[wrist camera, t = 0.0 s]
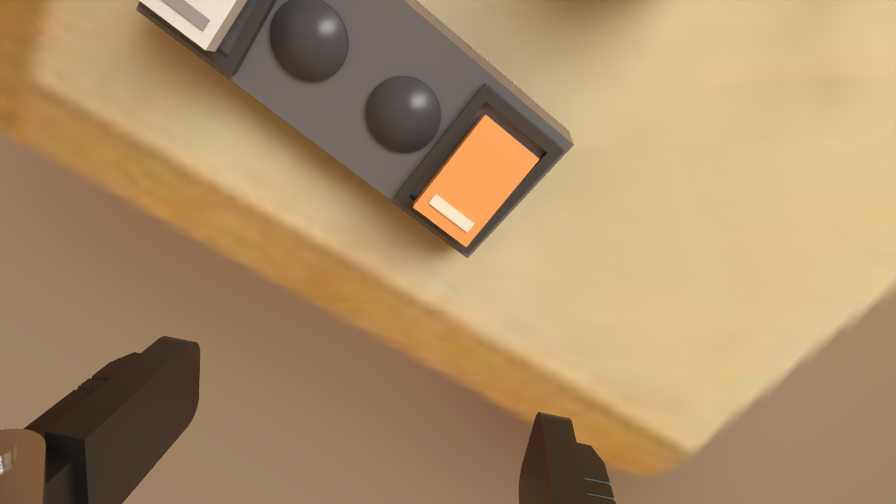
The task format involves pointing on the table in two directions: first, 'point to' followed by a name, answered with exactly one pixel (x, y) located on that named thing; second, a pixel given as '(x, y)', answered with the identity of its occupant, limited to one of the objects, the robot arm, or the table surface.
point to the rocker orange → (475, 180)
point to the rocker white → (199, 18)
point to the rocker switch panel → (379, 91)
